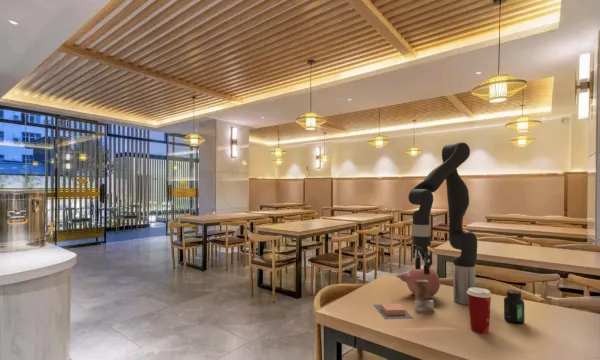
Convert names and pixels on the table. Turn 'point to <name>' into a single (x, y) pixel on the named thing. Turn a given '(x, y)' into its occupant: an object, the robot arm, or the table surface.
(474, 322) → the coffee cup
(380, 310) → the mat
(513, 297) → the supplement bottle
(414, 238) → the robot arm
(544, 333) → the table surface
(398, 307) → the tile
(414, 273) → the pink rounded piece
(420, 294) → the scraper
